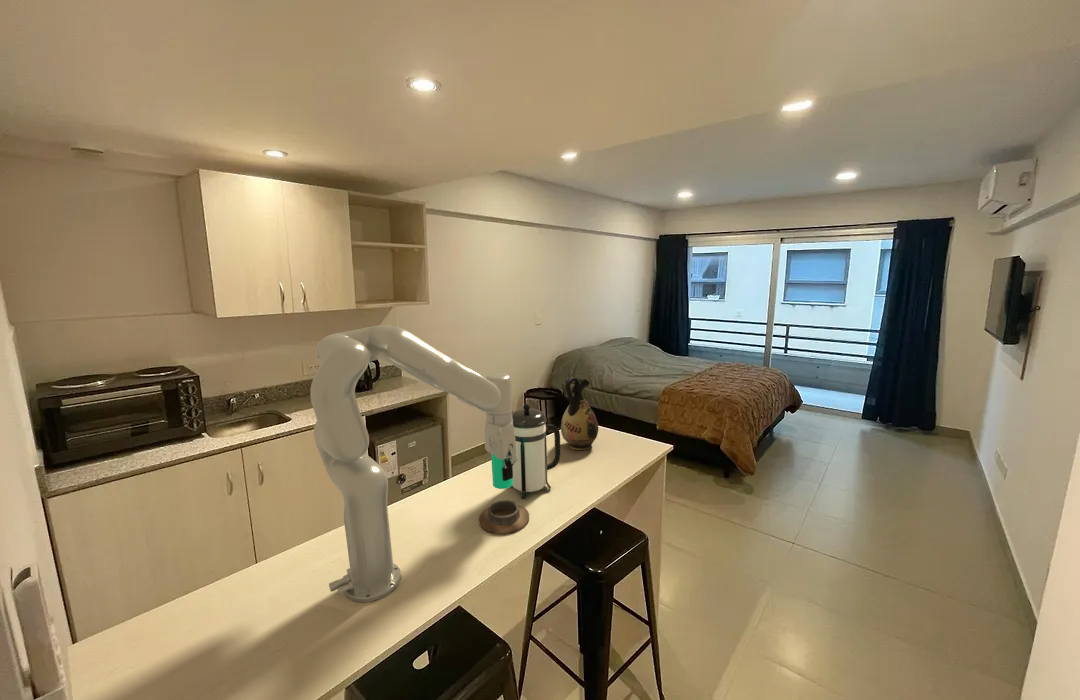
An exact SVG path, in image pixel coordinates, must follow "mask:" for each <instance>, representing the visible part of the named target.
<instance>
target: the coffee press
mask: <svg viewBox="0 0 1080 700" xmlns="http://www.w3.org/2000/svg"><path fill="white" fill-rule="evenodd" d="M512 423H513V427H514V433H515V441H516V454H515V455H516V457H517V462H515V463H514V465H513V466H512V467H513V485H512V486H511V487H510V488H512V487H513V488H514V489H515V490H517V491H519V492H521V493H520V498H521V500H522V499H523V500H526V499H527V496H528V495H527V494H528V493H533V492H538V491H540V490H542V489H544V491H546V492H550V491H551V489H552V486H551V485H550V484H549V482H548V471H549V470H552V469H554V468H555V467H556V466H557V465H558V464H559V462H560V459H561V433H560V430H559V428H558V426H556V425H554V424H551V423H549V424H546V423H547V417H546V416H545V414H544V413H543V411H541V410H539V409H536V408H531V405H530V404H529V403H525V404H524V405H523V406H522V408H521V409H517V410H515V411H513V422H512ZM547 431H552V432H553V435H554V458H553V460H552V462H550V463H548V458H547V457H548V455H547V453H548V452H547V450H548V448H547Z"/></svg>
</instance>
